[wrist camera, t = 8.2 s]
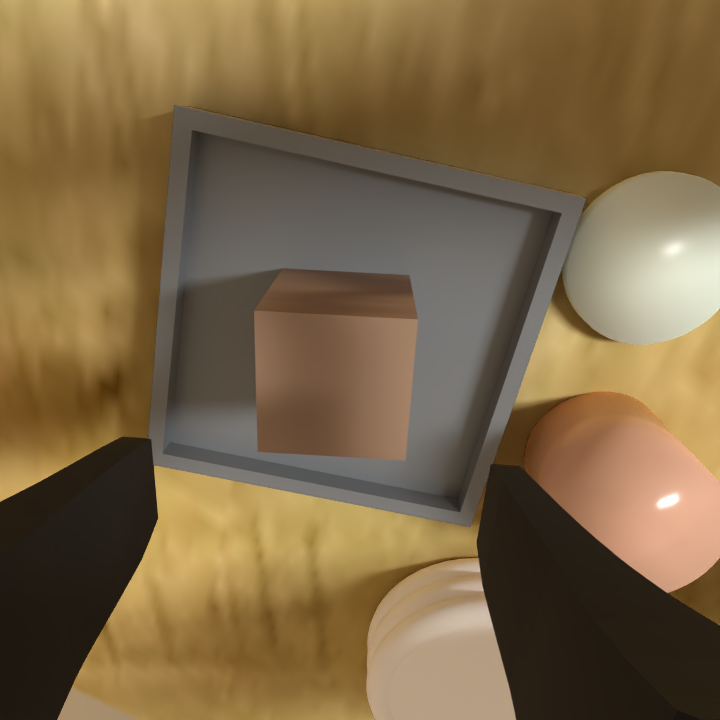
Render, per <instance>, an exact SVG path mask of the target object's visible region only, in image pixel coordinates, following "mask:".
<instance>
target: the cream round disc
mask: <svg viewBox="0 0 720 720" xmlns="http://www.w3.org/2000/svg"><path fill="white" fill-rule="evenodd" d="M367 648H368V654H367V671H368V673H367V678H366V691H367V697H368V702H369V705H370V708H371V711H372V714H373V716H374V718H375V720H516V717H515V711H514V707H513V702H512V698H511V693H510V689H509V685H508V681H507V677H506V674H505V670H504V666H503V662H502V659H501V655H500V651H499V647H498V644H497V640H496V636H495V632H494V629H493V625H492V621H491V617H490V614H489V610H488V606H487V602H486V598H485V594H484V590H483V586H482V579H481V572H480V565H479V558H464V559H456V560H449V561H445V562H441V563H437V564H434V565H431V566H428V567H426V568H423V569H421V570H419V571H417V572H415V573H413V574H411V575H409V576H408V577H406V578H405V579H403V580H402V581H401V582H399V583H398V584H397V585H396V586H395V587H393V588H392V589H391V590H390V591H389V592H388V593H387V595H386V596H385V597H384V598H383V599H382V601H381V602H380V604H379V606H378V607H377V609H376V611H375V613H374V616H373V619H372V621H371V624H370V627H369V632H368V639H367Z"/></svg>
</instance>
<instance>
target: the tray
mask: <svg viewBox="0 0 720 720" xmlns="http://www.w3.org/2000/svg"><path fill="white" fill-rule="evenodd" d="M586 199H587V198H584V197H581V196H578V195H575V194H573V193H569V192H564V191H560V190H555V189H551V188H547V187H542V186H538V185H533V184H529V183H525V182H520V181H516V180H511V179H507V178H503V177H498V176H494V175H489V174H485V173H481V172H476V171H472V170H467V169H463V168H459V167H454V166H450V165H445V164H441V163H437V162H432V161H428V160H423V159H419V158H414V157H410V156H406V155H401V154H397V153H392V152H388V151H384V150H379V149H375V148H370V147H366V146H362V145H357V144H353V143H348V142H344V141H340V140H335V139H331V138H326V137H322V136H318V135H313V134H309V133H304V132H300V131H295V130H291V129H287V128H282V127H278V126H273V125H269V124H265V123H260V122H256V121H251V120H247V119H243V118H238V117H234V116H229V115H225V114H221V113H216V112H212V111H207V110H203V109H199V108H194V107H190V106H179V105H174V115H173V128H172V141H171V153H170V166H169V179H168V192H167V204H166V217H165V230H164V242H163V255H162V268H161V280H160V293H159V306H158V319H157V331H156V344H155V357H154V369H153V382H152V395H151V407H150V420H149V433H148V439H151V441H152V453H153V465H156V466H161V467H166V468H171V469H176V470H181V471H187V472H192V473H197V474H202V475H207V476H212V477H217V478H222V479H227V480H232V481H238V482H243V483H248V484H253V485H258V486H263V487H268V488H273V489H278V490H284V491H289V492H294V493H299V494H304V495H309V496H314V497H319V498H324V499H329V500H335V501H340V502H345V503H350V504H355V505H360V506H365V507H370V508H375V509H381V510H386V511H391V512H396V513H401V514H406V515H411V516H416V517H421V518H426V519H432V520H437V521H442V522H447V523H452V524H457V525H462V526H467V527H471V524H472V521H473V519H474V516H475V513H476V510H477V507H478V504H479V502H480V499H481V496H482V493H483V490H484V487H485V485H486V482H487V479H488V476H489V471H490V465H491V464H493V462H494V459H495V456H496V453H497V451H498V448H499V445H500V442H501V439H502V436H503V434H504V431H505V428H506V425H507V422H508V419H509V417H510V414H511V411H512V408H513V405H514V402H515V400H516V397H517V394H518V391H519V388H520V385H521V383H522V380H523V377H524V374H525V371H526V368H527V366H528V363H529V360H530V357H531V354H532V351H533V349H534V346H535V343H536V340H537V337H538V334H539V332H540V329H541V326H542V323H543V320H544V317H545V315H546V312H547V309H548V306H549V303H550V300H551V298H552V295H553V292H554V289H555V286H556V283H557V281H558V278H559V275H560V272H561V269H562V266H563V264H564V261H565V258H566V255H567V252H568V249H569V247H570V244H571V241H572V238H573V235H574V232H575V230H576V227H577V224H578V221H579V218H580V216H581V213H582V210H583V207H584V204H585V201H586ZM283 268H287V269H306V270H324V271H343V272H362V273H380V274H399V275H410V280H411V285H412V291H413V296H414V301H415V306H416V312H417V317H418V325H417V337H416V348H415V359H414V370H413V381H412V393H411V404H410V415H409V426H408V437H407V449H406V460H405V461H404V460H387V459H369V458H352V457H335V456H318V455H300V454H283V453H266V452H258V448H257V409H256V369H255V329H254V310H255V308H256V307H257V305H258V304H259V303H260V301H261V300H262V298H263V297H264V295H265V294H266V292H267V291H268V289H269V288H270V286H271V285H272V283H273V282H274V280H275V279H276V278H277V276H278V275H279V273H280V272H281V270H282V269H283Z"/></svg>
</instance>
